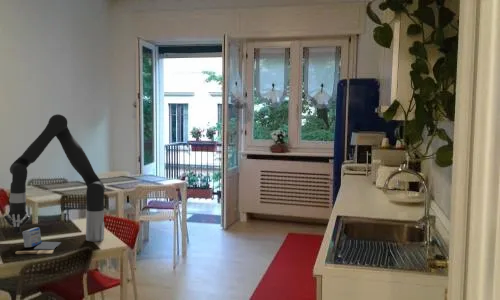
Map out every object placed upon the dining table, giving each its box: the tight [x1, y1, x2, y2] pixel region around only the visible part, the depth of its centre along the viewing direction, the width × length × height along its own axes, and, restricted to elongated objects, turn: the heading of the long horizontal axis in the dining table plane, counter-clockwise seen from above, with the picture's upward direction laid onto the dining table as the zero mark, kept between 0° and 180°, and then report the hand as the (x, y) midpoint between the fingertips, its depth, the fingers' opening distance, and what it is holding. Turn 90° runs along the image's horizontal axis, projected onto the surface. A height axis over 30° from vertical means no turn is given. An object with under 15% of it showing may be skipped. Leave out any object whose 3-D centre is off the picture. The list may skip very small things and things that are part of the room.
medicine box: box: [21, 227, 43, 248], centre depth 224 cm, size 8×4×9 cm, turn 168°
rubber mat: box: [33, 241, 62, 251], centre depth 225 cm, size 10×12×1 cm
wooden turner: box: [14, 249, 55, 255], centre depth 214 cm, size 17×4×1 cm, turn 106°
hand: (17, 233), depth 223 cm, fingers closed
